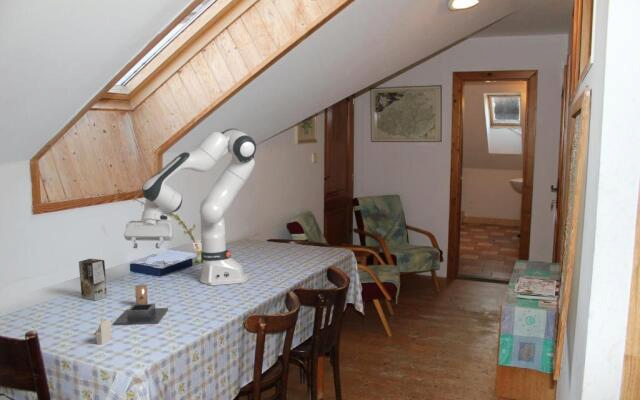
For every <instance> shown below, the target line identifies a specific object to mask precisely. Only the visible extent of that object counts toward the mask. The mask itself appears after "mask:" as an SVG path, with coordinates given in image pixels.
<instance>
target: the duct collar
mask: <svg viewBox="0 0 640 400" xmlns="http://www.w3.org/2000/svg"><path fill="white" fill-rule="evenodd" d="M168 311H169V308H168V307H158V308H156V303H148V304H132V305H131V306H130V307H129V308H128V309H126V310H125V311H124V312H123V313H122V314H120V316H119V317H118V318H117V319H115V320H114V322H113V323H112V325H113V326H129V325H130V326H132V325H154V324H155V325H159V323H160V322H161V321H162V319H163V317H164V316H165V315H166V314H167V313H168Z"/></svg>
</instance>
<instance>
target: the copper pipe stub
mask: <svg viewBox="0 0 640 400" xmlns="http://www.w3.org/2000/svg"><path fill="white" fill-rule="evenodd" d="M147 286H148V285H146V284H138V285H135V287H134V288H135V302H136V304H149V303H148V287H147ZM136 304H135V305H136Z"/></svg>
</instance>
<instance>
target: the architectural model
mask: <svg viewBox="0 0 640 400" xmlns="http://www.w3.org/2000/svg"><path fill="white" fill-rule="evenodd" d="M112 330H113V327H112V321H111V318H108V319H106V320H104V319H103V320H100V323H99V326H98V328H97V329H96V330H95V332H94V333H93V334H91V335H92V337H93V336H95V337H96V345H99V346H100V345H101V346H102V345H104V344H105V343H107V342H108V341H110V340H111V339H113V337H112V336H113V333H112Z"/></svg>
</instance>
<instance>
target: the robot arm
mask: <svg viewBox="0 0 640 400" xmlns="http://www.w3.org/2000/svg"><path fill="white" fill-rule="evenodd" d="M256 151H257V143H256V141H255V140H254V139H253V137H251V136H250V135H248V134H247V133H246V132H244V131H241V130H239V129H237V128H228V129H225V130H223V131H221V132H219V131H212V132H211V133H209V134H208V135H207V136H206V137H205V138H203V139H202V140H201V142H199V144H198V145H197V146H196V147H195V148H194V149H192V150H190V151H189V152H187V151H186V152H185V151H184V152H182V153H180V154H178V155H177V156H175V158H174V159H172V160H171V161H170V162H169V163H168V164H166V165H165V166H164V167H162V168H161V169H160V171H158V172H157V173H156V174H154V175H153V176H151V177H150V178H148V179H147V180H146V181H145V182H144V183H143V185H142V186H141V187H142V188H141V189H142V191H141V192H142V195H143V197H144V198H145V201H144V205H143V208H144V210H143V212H142V215H141V219H140V220H131V221H128V222H127V223H126V226H125V229H124V233H123V237H124V239H125V240H126V241H131V242H132V249H138V247H139V246H138V243H137V241H148V242H149V241H152V242H153V241H156V243H155V249H160V248H161V246H162V245H163V243H164V241H166V242H167V241H172V240H173V238H174V227H173V221H172V218H171V217H170V214H172V213H175V212H177V211H178V210H180V208H181V207H182V203H183V196H182V194H180V192H178V191H177V190H176V189H174V188H172V186H169V185H168V184H167V183H166V182H168V181H169V180H170V179H172V177H174V175H176V174H177V173H179V171H181V170H191V171H194V172H198V173H205V172H208V171H210V170H212V169H213V168H214V167H215V166H216V165H217V163H218V161H220V159H221V158H222V157H223V156H224V155H225V154H227V153H230V154H231V155H232V156H231V160H230V162H229V164H227V166H226V167H225V168H224V170H223V172H222V173H221V174H220V176H219V177H218V179H217V181H216V182H215V183H214V185H213V186H212V188H211V190H210V191H209V193H208V194H207V195H206V197H204V199H202V200H201V202H200V205H199V214H200V238H201V240H200V241H201V251H200V262H201V274H200V277H199V282H200V283H202V284H206V285H209V286H221V285H234V284H235V285H236V284H243V283H247V282H248V281H249V279H250V277H249V275H248V274H247V273H244V268H243V265H242V264H241V263H239V261H237V260H235V259H234V258H232V255H231V253H232V252H231V250H228V249H227V246H226V245H227V243H226V242H227V240H226V224H225V222H226V221H225V214H226V213H227V211H228V209H229V208H230V207H231V205H232V204H233V201H234V200H235V199H236V197H237V195H238V194H239V192H240V191H241V189H242V188H243V187H244V185H245V184H246V183H247V181H248V179H249V178H250V176H251V174H252V172H253V170H254V167H255V165H256V161H255V159H254V158H255V154H256ZM168 214H169V216H168ZM157 241H158V242H157Z"/></svg>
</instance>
